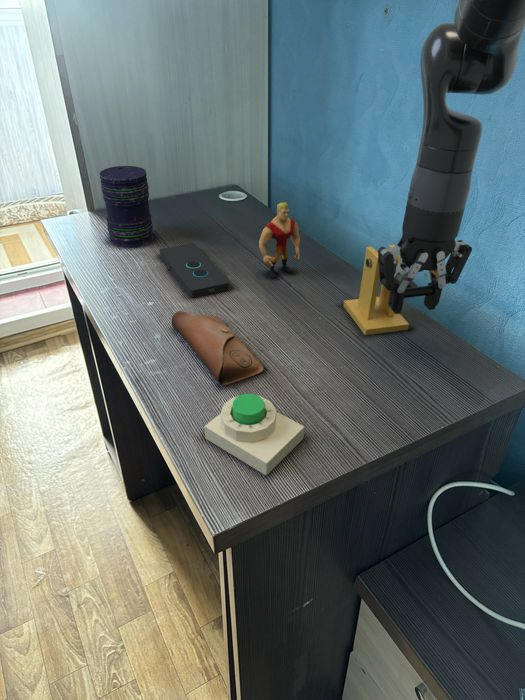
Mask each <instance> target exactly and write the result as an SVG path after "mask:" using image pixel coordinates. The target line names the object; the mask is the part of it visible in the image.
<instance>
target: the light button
mask: <svg viewBox="0 0 525 700" xmlns="http://www.w3.org/2000/svg"><path fill="white" fill-rule="evenodd" d="M237 396H238V397H237ZM237 396H236V397H237V398H236V399H235V400H234V401H233V417H234V419H235V420H236V421H237V422H239V423H241V424H244V425H253V424H257V423H259V422H260V421H261V420H262V419H263V418H264V412H265V403H264V401H263V399H262V398H261V397H262V396H261V397H259V396H260V395H257V394H253V393H244V394H243V393H242V394H240V395H237Z"/></svg>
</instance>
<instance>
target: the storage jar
mask: <svg viewBox="0 0 525 700" xmlns="http://www.w3.org/2000/svg"><path fill="white" fill-rule="evenodd" d="M147 175H148V174H147V170H146V169H145V168H142V167H140V166H133V165H119V166H118V165H117V166H111V167H107V168H104V169H102V170H101V171H100V172H99V178H100V189H101V193H102V198H103V201H104V204H105V210H106V226H107V232H108V235H109V241H110V244H111V245H113V246H115V247H118V248H123V249H134V248H140V247H144V246H147V245H149V244H150V243H152V242H153V241H154V234H153V231H154V230H153V228H154V227H153V226H154V225H153V221H152V214H151V212H150V204H149V203H150V202H149V198H150V192H149V182H148V178H147Z"/></svg>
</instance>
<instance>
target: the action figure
mask: <svg viewBox="0 0 525 700" xmlns="http://www.w3.org/2000/svg"><path fill="white" fill-rule="evenodd" d="M289 215H290V209H289V204H288V203H287V202H286V201H283V202H280V203H278V204H276V216H275V217H273V219H272V220H271V221H270V222H268V223H267V224H265V227H264V228H263V230H262V232H261V235H260V238H259V240H258V247H259V251H260V253H261V254H262V256H263V258H262V259H263V263H264V264H265V265H266V266H268V267H269V268H270V269H269V276H270V277H271V279H276V278H277V274H276V273H275V265H276V264H277V263H278V260H279V259H280V256H281V263H282V266H281V270H282V271H286V272H288V273H290V274H294V270H293V269H291V268H290V267H288V266H287V262H288V260H289V259H288V252H287V251H288V250H287V241H288V239H289V238H290V240H291V242H292V244H293V245H294V247H295V248H294V250H295V255H294V256H293V258H294V260H300V244H301V243H300V242H301V236H300V233H299V225H298V223H297V222H296V221H295V220H294V219H293V218H290V217H289ZM271 239H273V240H275V241H276V244H275V256H270V255H268V252H267V245H268V243H270V241H271ZM281 254H282V255H281Z"/></svg>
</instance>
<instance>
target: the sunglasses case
mask: <svg viewBox="0 0 525 700" xmlns="http://www.w3.org/2000/svg"><path fill="white" fill-rule="evenodd" d="M171 325H172V327H173V329H174V330H175V331H176V332H177V334H178V335H180V337H181V338H182V339H183V340H184V341H185V343H187V345H188V346H189V348H190V349H191V350H192V351H193V353H194V354H195V355H196V356H197V358H198V359H199V360H200V361H201V362H202V364H203V365H204V366H205V368H206V369H207V370H208V371H209V373H210V375H212V377H213V378H214V379H215V381H217V382H218V383H219V384H220V385H222V386H224V387H226V386H229V385H232V384H237V383H240V382H242V381H245V380H247V379H250V378H253V377H256V376H257V375H259V374H261V373H263V372H264V371H265V368H264V366H263V364H262V363H261V362H260V360H259V359H258V358H257V357H256V356H255V355H254V354H253V353H252V351H251V350H250V349H249V348H248V347H247V346H246V345H245V344H244V343H243V342H242V341H241V340H240V339H239V338H238V337H237V336H236V334H235V333H234V331H232V329H231V328H229V327H228V325H227V324H226V323H225V322H224V321H223V320H222V319H221V317H219V316H218V315H206V314H198V313H197V314H196V313H192V312H188V311H185V310H178V311H176V312H175V313H174V314H173V315H172V317H171Z"/></svg>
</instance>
